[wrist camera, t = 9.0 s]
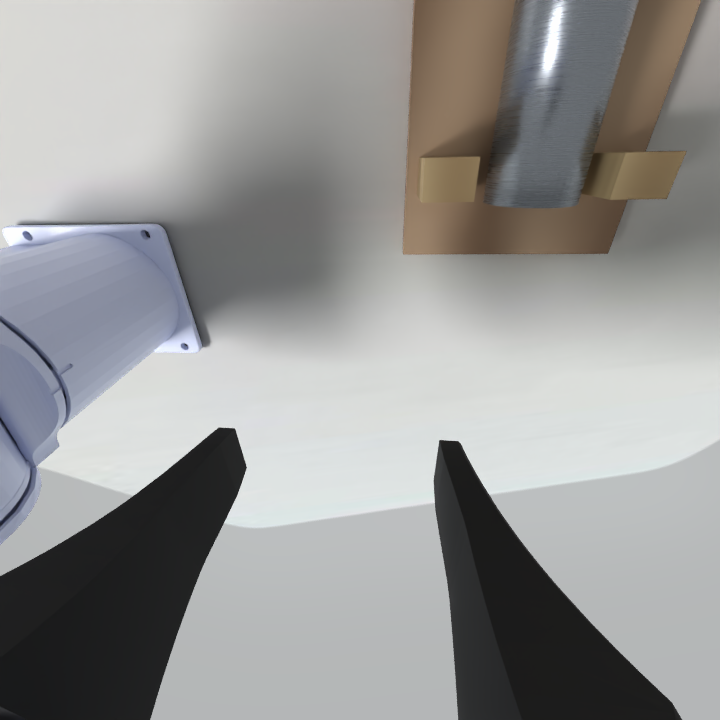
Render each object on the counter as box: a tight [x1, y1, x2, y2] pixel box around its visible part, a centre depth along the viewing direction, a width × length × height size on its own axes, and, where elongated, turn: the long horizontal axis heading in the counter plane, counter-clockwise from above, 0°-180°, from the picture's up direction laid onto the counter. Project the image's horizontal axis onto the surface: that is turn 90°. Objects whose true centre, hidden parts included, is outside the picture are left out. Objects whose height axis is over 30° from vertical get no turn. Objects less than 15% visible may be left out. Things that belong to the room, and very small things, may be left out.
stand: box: [403, 0, 701, 254], centre depth 11 cm, size 10×17×4 cm, turn 1°
